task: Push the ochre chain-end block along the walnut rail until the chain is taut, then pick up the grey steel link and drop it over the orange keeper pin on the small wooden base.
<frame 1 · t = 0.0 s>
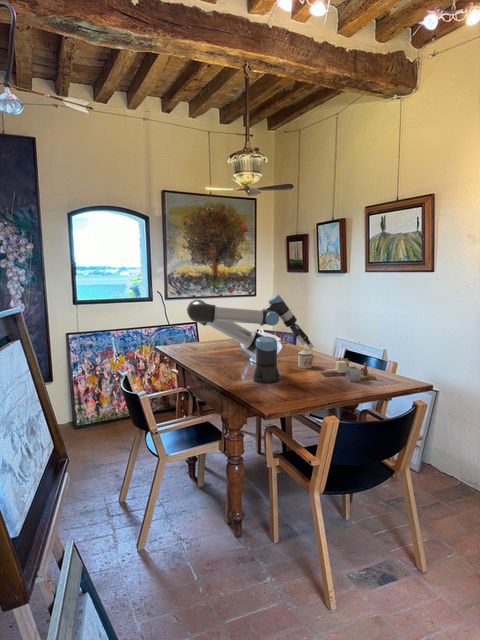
hand: (308, 346, 232), 15 cm above the table, tool tilted 35°, fingers open, 13 cm apart
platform: (343, 369, 241), on the table
teacup with lid: (306, 367, 245), on the table
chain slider: (334, 367, 224), point 4 cm above the table, slide at 0.0 cm
rail: (343, 374, 226), on the table
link: (352, 380, 213), on the table
keeper post: (365, 377, 217), on the table
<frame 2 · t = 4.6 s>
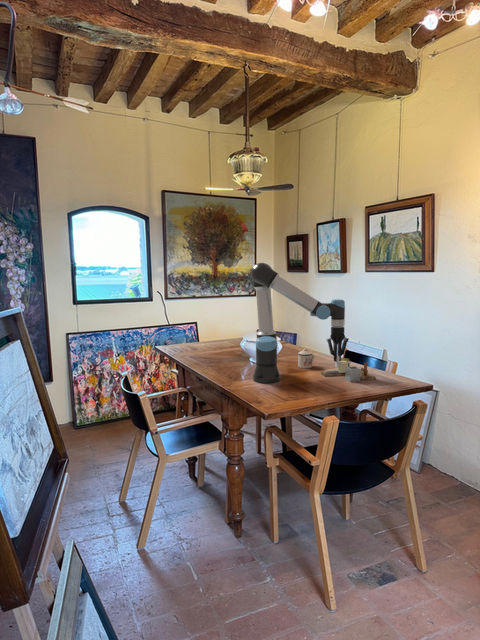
hand: (337, 366, 224), 5 cm above the table, tool pointing down, fingers closed
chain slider: (335, 367, 224), point 4 cm above the table, slide at 0.8 cm, touching gripper
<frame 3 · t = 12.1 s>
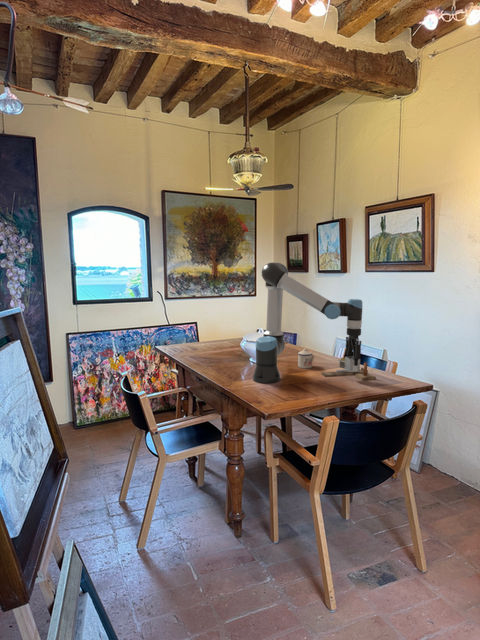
hand: (351, 369, 212), 6 cm above the table, tool pointing down, fingers closed on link, 6 cm apart
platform: (345, 369, 241), on the table, touching rail
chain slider: (347, 366, 226), point 4 cm above the table, slide at 7.7 cm
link: (351, 370, 212), point 6 cm above the table, touching gripper
everything else where it was.
when the fingers open (2 cm above the table, at t = 16.1 s): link stays where it is, resting on keeper post.
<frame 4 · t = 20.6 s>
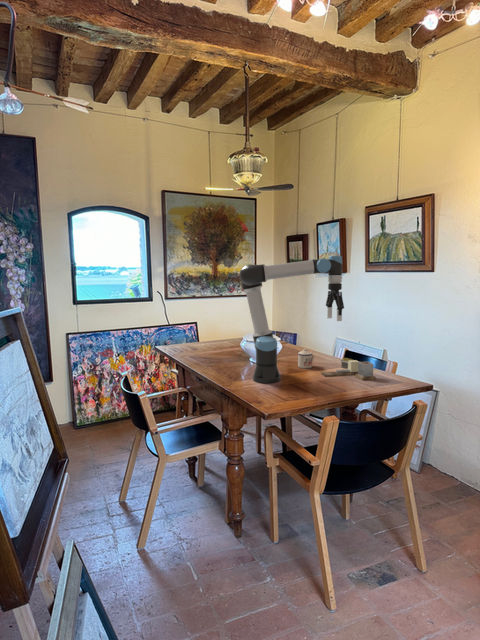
hand: (334, 319, 225), 32 cm above the table, tool pointing down, fingers open, 13 cm apart
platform: (347, 369, 239), on the table
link: (365, 375, 217), point 1 cm above the table, touching keeper post
everything else where it was.
at the end: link 0.0 cm off-centre on the keeper post, point 1.5 cm above the keeper post's base; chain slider slide at 7.7 cm; the gripper is holding nothing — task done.
